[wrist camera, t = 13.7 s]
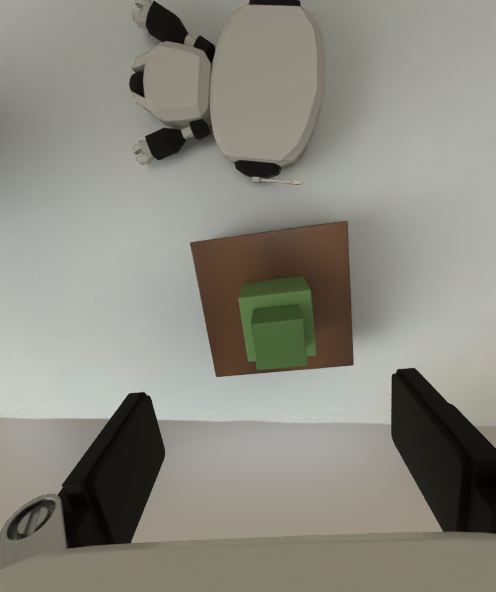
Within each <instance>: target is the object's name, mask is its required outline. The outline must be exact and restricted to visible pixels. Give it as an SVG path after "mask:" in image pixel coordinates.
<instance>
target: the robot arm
mask: <svg viewBox="0 0 496 592" xmlns="http://www.w3.org/2000/svg"><path fill="white" fill-rule="evenodd" d="M391 427H392V428H391V434H392V439H393V442H394V444H395V446H396V448H397V449H398V451H399V453H400V455H401V456H402V458H403V460H404V462H405V464H406V466H407V467H408V469H409V471H410V473H411V475H412V476H413V478H414V480H415V482H416V483H417V485H418V487H419V489H420V491H421V493H422V494H423V496H424V498H425V500H426V501H427V503H428V505H429V507H430V509H431V510H432V512H433V514H434V516H435V518H436V519H437V521H438V523H439V525H440V527H441V528H442V530H443V532H406V533H405V532H399V533H369V534H338V535H310V536H283V537H257V538H236V539H235V538H234V539H209V540H189V541H167V542H146V543H131V540H132V538H133V536H134V533H135V531H136V528H137V526H138V523H139V520H140V518H141V516H142V513H143V511H144V508H145V506H146V503H147V501H148V498H149V496H150V493H151V491H152V488H153V485H154V483H155V481H156V478H157V476H158V473H159V471H160V468H161V465H162V463H163V461H164V457H165V448H164V444H163V441H162V437H161V433H160V430H159V426H158V422H157V419H156V415H155V411H154V408H153V404H152V400H151V397H150V396H147V395H146V393H144V392H139V393H130V394H128V395H127V397H126V398H125V400H124V401H123V402H122V404H121V405H120V406H119V408H118V409H117V410H116V412H115V413H114V415H113V416H112V417H111V419H110V420H109V421H108V423H107V424H106V425H105V427H104V428H103V430H102V431H101V433H100V434H99V435H98V437H97V438H96V439H95V441H94V442H93V443H92V445H91V446H90V447H89V449H88V450H87V451H86V453H85V454H84V456H83V457H82V458H81V460H80V461H79V462H78V464H77V465H76V467H75V468H74V469H73V471H72V472H71V473H70V475H69V476H68V477H67V479H66V480H65V482H64V483H63V484H62V487H63V488H62V490H61V491H60V492H59V494H58V495H56V494H46V495H42V496H39V497H37V498H35V499H33V500H31V501H29V502H28V503H26V504H25V505H23V506H22V507H21V508H19V509H18V510H17V511H16V512H15V513H14V514H13V515H12V516H11V517H10V518H9V519H8V520H7V522H6V523H5V525H4V527H3V528H2V530H1V533H0V592H496V448H495V447H493V445H492V444H491V443H490V442H489V441H488V440H487V439H486V438H485V437H484V436H483V435H482V434H481V433H480V432H479V431H478V430H477V429H476V428H475V427H474V426H473V425H472V424H471V423H470V422H469V421H468V419H467V418H466V417H465V416H464V415H463V414H462V413H461V412H460V411H459V410H458V409H457V408H456V407H455V406H453V405H452V404H449V403H448V402H447V401H446V400H445V399H444V398H443V397H442V396H441V395H440V394H439V393H438V392H437V391H436V389H435V388H434V387H433V386H432V385H431V384H430V383H429V382H428V381H427V380H426V379H425V378H424V377H423V376H422V375H421V374H420V373H419V372H418V371H417V370H416V369H415V368H408V369H398V370H397V371H396V374H392V409H391Z"/></svg>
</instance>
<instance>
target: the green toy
mask: <svg viewBox="0 0 496 592" xmlns="http://www.w3.org/2000/svg"><path fill="white" fill-rule="evenodd" d="M239 306H240V312H241V319H242V325H243V331H244V338H245V344H246V351H247V357H248V361H249V362H250V361H256V366H257V370H265V369H277V368H288V367H300V366H307V365H308V362H307V356H316V346H315V334H314V321H313V309H312V297H311V290H310V288H309V286H308V284H307V282H306V280H305V278H304V276H298V277H290V278H282V279H273V280H265V281H257V282H248V283H244V284H243V287H242V290H241V293H240V296H239Z"/></svg>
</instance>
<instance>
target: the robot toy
mask: <svg viewBox="0 0 496 592" xmlns="http://www.w3.org/2000/svg"><path fill="white" fill-rule="evenodd" d="M135 4H136V5H137V7H138V8H141V9H142V11H141V13H139V12H138V11H136V10H135V9H134V8H133V9H132V17H133V20H134V22H135V23H136V24H137V25H138V26H139V27H140V28H147V29H148V32H149V34H151V35H152V36H154V37H155V38H157V39H158V40H160V41H161V42H162V43H160V44H157V45H155V46H154V47H153V49H152V50H151V51H150V52H147V53H145V54H143V55H140V56H138V57H136V59H135V62H134V64H133V67H132V70H133V71H134V72H136V73H135V74H133V75H132V76H131V78H130V83H129V85H130V89H131V92H132V93H133V95H134V98H135V100H136V103H137V104H139V105H140V106H141V107H143V108H144V109H145V110H147V111H148V112H150V113H151V114H153V115H154V116H155V117H156V118H158V119H159V120H161V121H162V122H163V123H165V124H166V125H168V126H170V127H172V128H174V129H171V128H162V129H160V130H158V131H156V132H154V133H152V134H149V135H147V136H145V138H146V141H139V142H138V143H137V144H136V145H134V146H133V152H134V154H136V155H138V154H139V153H141V152H143V155H141V156H139V157H136V159H137V161H138V162H139V163H141V164H142V165H144V164H150V163H151V161H152V160H153V159H154V158H156V159H157V160H161V159H163V158H166V157H168V156H170V155H173V154H175V153H177V152H179V150H180V149H181V147H182V146H183V145H184V143H185V141H186V140H187V139H189V138H191V137H193V136H195V138H197V139H201V138H204V137H206V136H208V135H210V130H209V127H208V126H209V125H210V123H211V122H212V128H213V133H214V137H215V140H216V142H217V144H218V146H219V148H220V150H221V152H222V154H223V155H224V156H226V157H227V158H228V159H229V160H231V161H232V162H234V163H235V167H236V169H237V170H238V171H240V172H241V173H243V174H244V175H246V176H248V177H252V182H258V183H261V181H262V182H276V183H289V184H295V185H300V184H303V182H301V181H299V180H292V181H290V180H275V179H267V178H270V177H273V176H276V175H279V173H280V171H281V169H283V168H286V167H288V166H291V165H293V164H294V163H295V162H296V161H297V160H298V159H299V158H300V156H301V155H302V154H303V152H304V151H305V149H306V147H307V145H308V142H309V140H310V138H311V135H312V133H313V129H314V126H315V123H316V119H317V116H318V113H319V109H320V106H321V102H322V99H323V95H324V60H325V59H324V48H323V39H322V34H321V30H320V28H319V26H318V24H317V21H316V19H315V17H314V15H312V14H311V13H309V12H308V11H306V10H305V9H303V8H302V7H301V6H300V1H299V0H250V2H249V4H248V5H245V6H243V7H242V8H240V9H238V10H237V11H235V12H233V13H232V15H231V17H230V18H229V20H228V21H227V23H226V24H225V26H224V27H223V30H222V32H221V34H220V37H219V40H218V44H217V47H216V51H215V45H213V44H212V43H211V42H209V41H208V40H206V39H205V38H203V37H202V36H199V37H198V38H197V39H194V38H193V37H191V36H190V35H189V34H188V32H187V30H186V28H185V27H184V25H183V23H182V22H181V20H180V18H178V17H177V16H176V15H175V14H173V13H172V12H170V11H169V10H167V9H166V8H164V7H163V6H161V5H160V4H158V3H156V2H155V1H154V2H153V3H152V2H151V0H136V1H135ZM213 58H214V59H213ZM212 61H213V65H211V63H212ZM179 129H182V130H179ZM262 178H263V179H262Z"/></svg>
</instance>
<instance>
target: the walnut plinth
mask: <svg viewBox="0 0 496 592" xmlns="http://www.w3.org/2000/svg"><path fill="white" fill-rule="evenodd" d="M190 245H191V250H192V255H193V260H194V265H195V271H196V276H197V281H198V286H199V291H200V296H201V301H202V307H203V312H204V317H205V322H206V327H207V332H208V338H209V343H210V348H211V353H212V358H213V363H214V369H215V374H216V377H222V376H233V375H245V374H257V373H269V372H280V371H292V370H304V369H315V368H327V367H339V366H351V365H354V363H353V340H352V316H351V293H350V269H349V245H348V222H347V221H341V222H334V223H326V224H319V225H312V226H305V227H298V228H290V229H283V230H276V231H269V232H261V233H254V234H247V235H240V236H233V237H225V238H218V239H211V240H204V241H196V242H191V243H190ZM298 276H304V278H305V280H306V282H307V284H308V286H309V288H310V290H311V297H312V309H313V321H314V334H315V346H316V356H307V362H308V365H307V366H300V367H288V368H277V369H265V370H257V366H256V361H250V362H249V361H248V357H247V351H246V344H245V338H244V331H243V325H242V319H241V312H240V306H239V296H240V293H241V290H242V287H243V284H244V283H248V282H257V281H265V280H273V279H282V278H290V277H298Z"/></svg>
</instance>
